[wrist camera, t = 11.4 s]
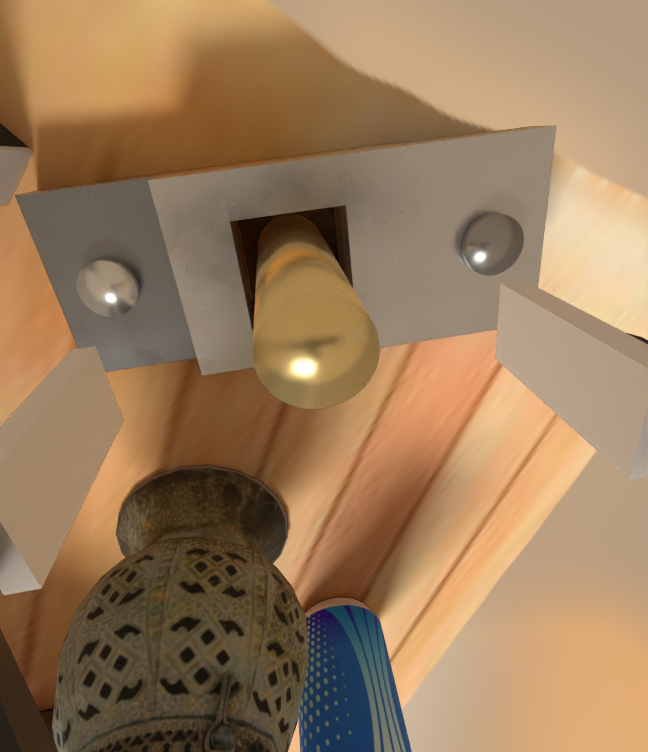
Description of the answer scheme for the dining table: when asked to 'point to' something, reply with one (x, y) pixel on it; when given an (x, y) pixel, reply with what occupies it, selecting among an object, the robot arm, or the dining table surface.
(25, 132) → the dining table surface
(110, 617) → the lantern
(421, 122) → the dining table surface
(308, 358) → the brass pin
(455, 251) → the grey device box
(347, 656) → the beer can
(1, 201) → the padlock
